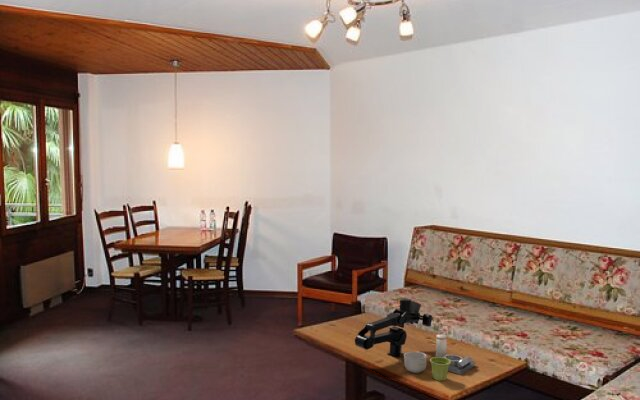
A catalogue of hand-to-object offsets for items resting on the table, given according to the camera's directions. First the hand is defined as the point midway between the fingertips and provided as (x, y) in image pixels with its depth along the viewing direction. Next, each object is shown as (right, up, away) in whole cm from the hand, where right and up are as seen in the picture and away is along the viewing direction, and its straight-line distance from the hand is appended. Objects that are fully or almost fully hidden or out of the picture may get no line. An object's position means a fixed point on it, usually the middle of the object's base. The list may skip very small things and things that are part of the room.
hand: (426, 316), depth 301 cm
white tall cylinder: (+4, -18, -19) cm, 26 cm away
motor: (+9, -18, -31) cm, 37 cm away
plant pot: (-3, -19, -46) cm, 50 cm away
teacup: (-12, -19, -36) cm, 42 cm away
